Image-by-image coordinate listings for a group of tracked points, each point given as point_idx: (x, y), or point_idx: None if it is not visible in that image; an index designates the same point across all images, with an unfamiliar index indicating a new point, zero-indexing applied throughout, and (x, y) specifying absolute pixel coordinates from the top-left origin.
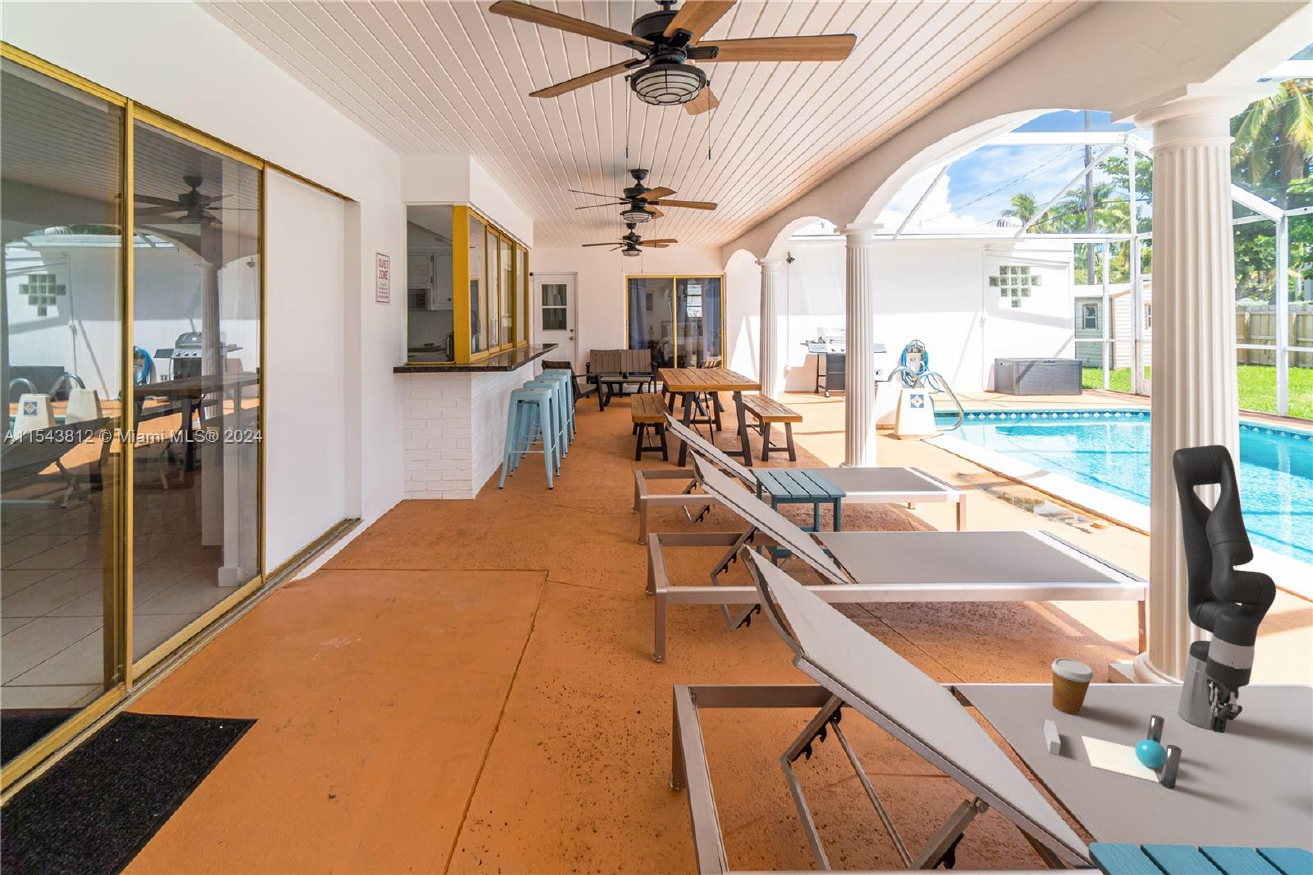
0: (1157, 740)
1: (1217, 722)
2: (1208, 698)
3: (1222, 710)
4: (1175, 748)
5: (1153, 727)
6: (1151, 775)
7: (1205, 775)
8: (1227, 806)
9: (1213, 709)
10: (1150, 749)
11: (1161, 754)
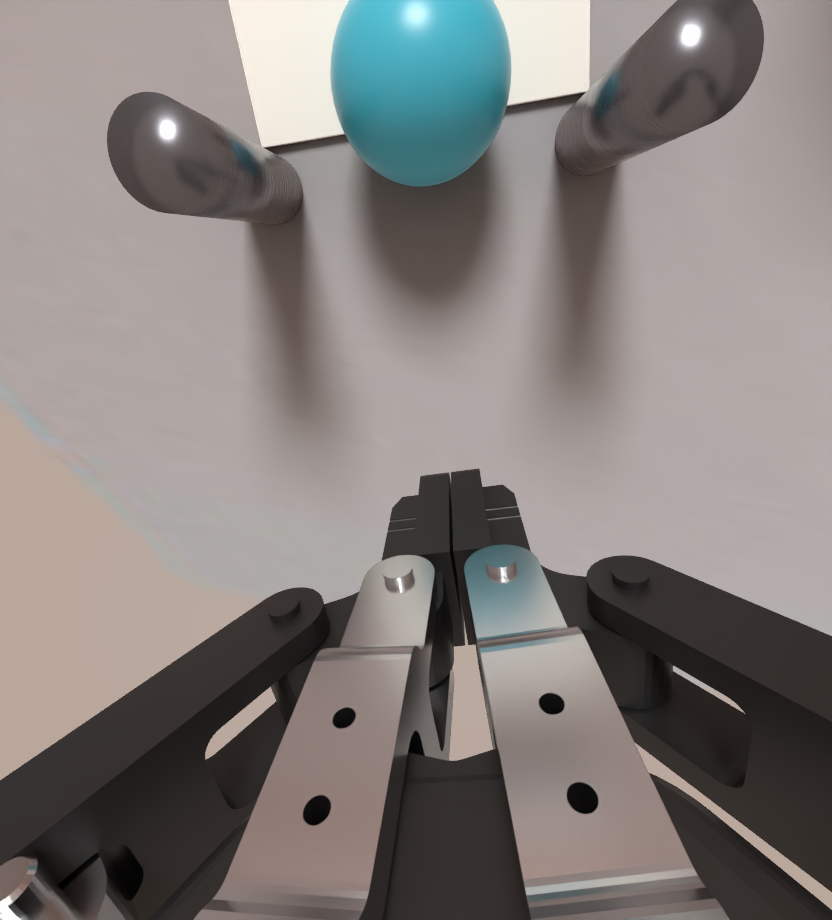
0: (584, 133)
1: (386, 544)
2: (720, 599)
3: (156, 718)
4: (162, 164)
5: (623, 56)
6: (304, 108)
7: (485, 379)
8: (274, 420)
9: (467, 582)
10: (348, 40)
11: (357, 130)
